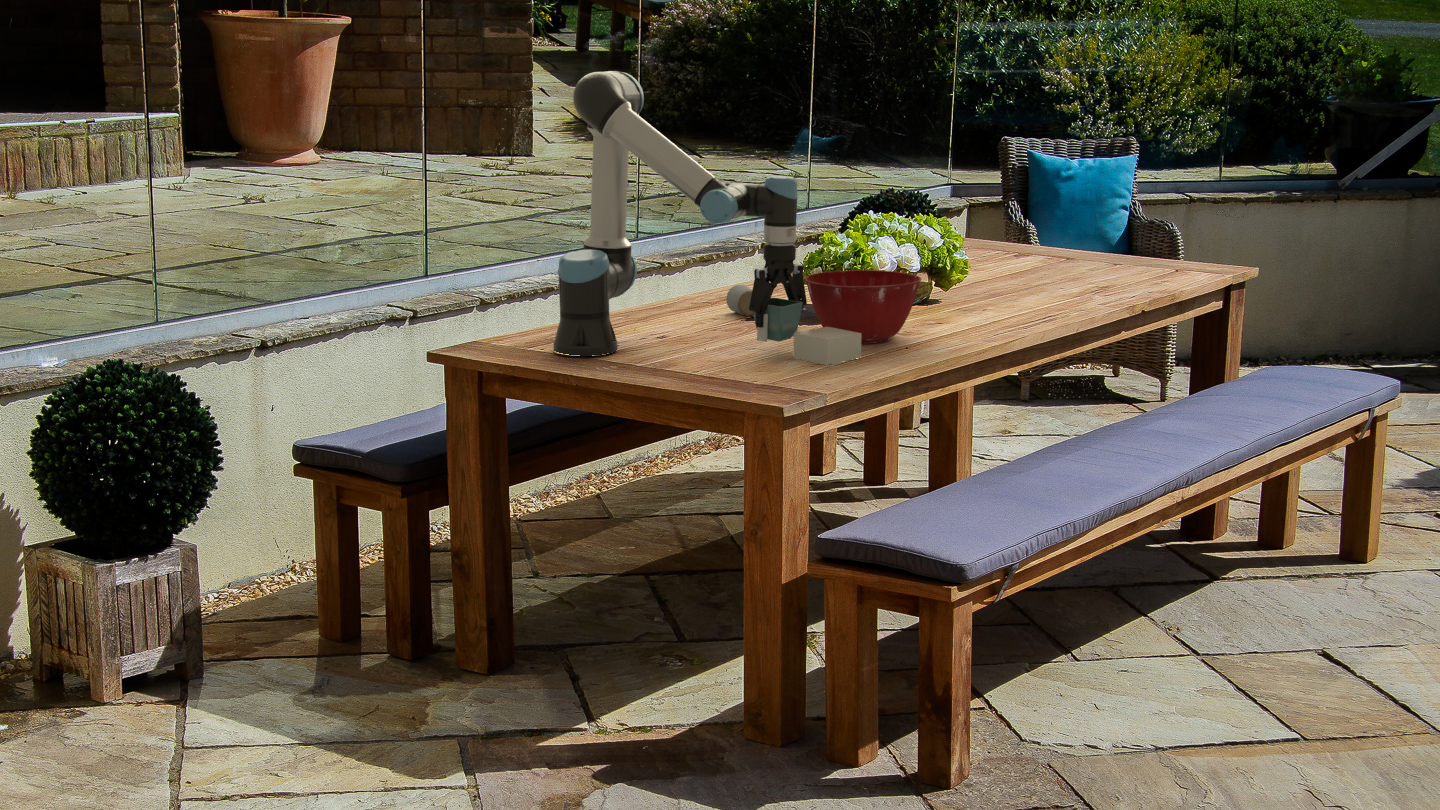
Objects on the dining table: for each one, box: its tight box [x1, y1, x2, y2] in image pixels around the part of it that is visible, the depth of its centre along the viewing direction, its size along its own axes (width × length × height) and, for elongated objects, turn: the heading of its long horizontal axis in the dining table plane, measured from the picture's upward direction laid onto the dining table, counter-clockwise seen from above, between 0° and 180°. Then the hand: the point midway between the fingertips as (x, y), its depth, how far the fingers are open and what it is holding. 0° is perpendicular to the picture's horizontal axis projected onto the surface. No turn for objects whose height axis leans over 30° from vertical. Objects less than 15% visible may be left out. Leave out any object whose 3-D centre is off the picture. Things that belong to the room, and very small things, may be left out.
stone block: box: [793, 327, 862, 366], centre depth 334 cm, size 11×11×6 cm
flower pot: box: [753, 297, 803, 343], centre depth 341 cm, size 9×9×9 cm
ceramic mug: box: [725, 283, 754, 317], centre depth 391 cm, size 11×8×8 cm
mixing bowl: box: [804, 269, 922, 344], centre depth 356 cm, size 28×28×15 cm
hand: (777, 338), depth 342 cm, fingers closed on flower pot, 9 cm apart
